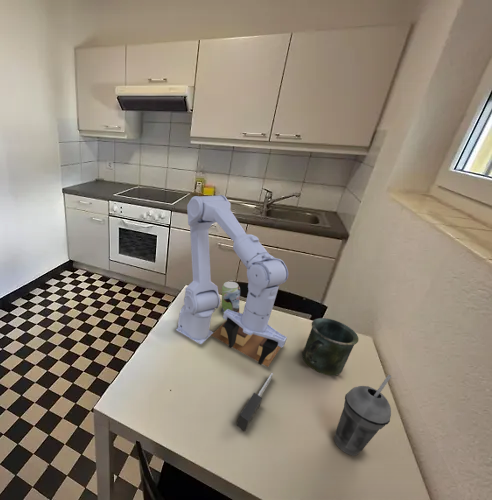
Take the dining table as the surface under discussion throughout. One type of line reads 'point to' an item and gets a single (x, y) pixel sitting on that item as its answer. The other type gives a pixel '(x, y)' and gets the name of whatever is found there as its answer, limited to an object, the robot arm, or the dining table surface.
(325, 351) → the mug
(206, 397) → the dining table surface
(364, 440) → the beverage cup
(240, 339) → the cake
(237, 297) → the beverage can
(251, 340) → the cake board
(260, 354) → the cake slice
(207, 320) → the robot arm
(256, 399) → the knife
